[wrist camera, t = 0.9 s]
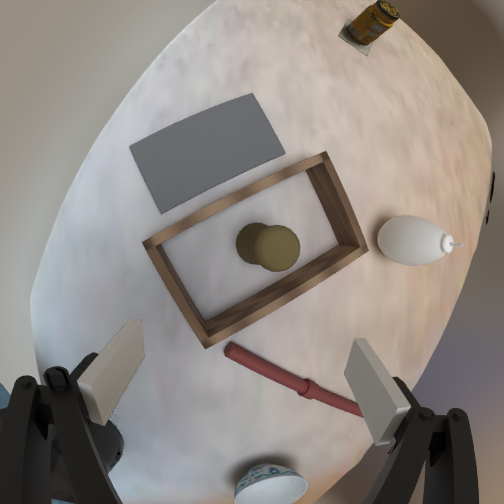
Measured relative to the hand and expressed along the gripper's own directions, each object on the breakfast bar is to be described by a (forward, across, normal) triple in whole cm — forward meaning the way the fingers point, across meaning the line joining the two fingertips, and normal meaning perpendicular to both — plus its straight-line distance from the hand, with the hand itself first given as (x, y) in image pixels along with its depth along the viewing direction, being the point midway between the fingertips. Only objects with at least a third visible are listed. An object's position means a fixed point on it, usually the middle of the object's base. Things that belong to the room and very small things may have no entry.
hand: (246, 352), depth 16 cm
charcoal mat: (+25, +8, -15) cm, 30 cm away
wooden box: (+25, -1, -2) cm, 25 cm away
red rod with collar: (+25, -16, +26) cm, 39 cm away
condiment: (+36, -18, -47) cm, 62 cm away
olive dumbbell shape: (+25, -1, -2) cm, 25 cm away
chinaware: (+19, -7, +46) cm, 51 cm away
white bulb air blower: (+31, -23, -4) cm, 39 cm away
